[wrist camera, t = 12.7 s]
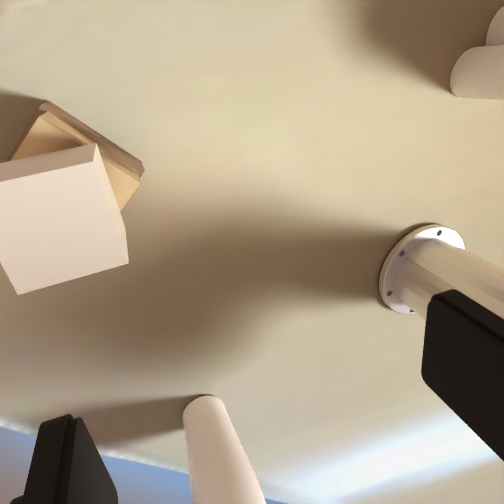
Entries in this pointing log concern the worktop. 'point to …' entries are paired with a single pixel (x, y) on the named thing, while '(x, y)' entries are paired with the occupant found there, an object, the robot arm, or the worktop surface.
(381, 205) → the worktop surface
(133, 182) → the brown open tray
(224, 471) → the drinking glass
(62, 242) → the cream cube
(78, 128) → the tan wooden square tray
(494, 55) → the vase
